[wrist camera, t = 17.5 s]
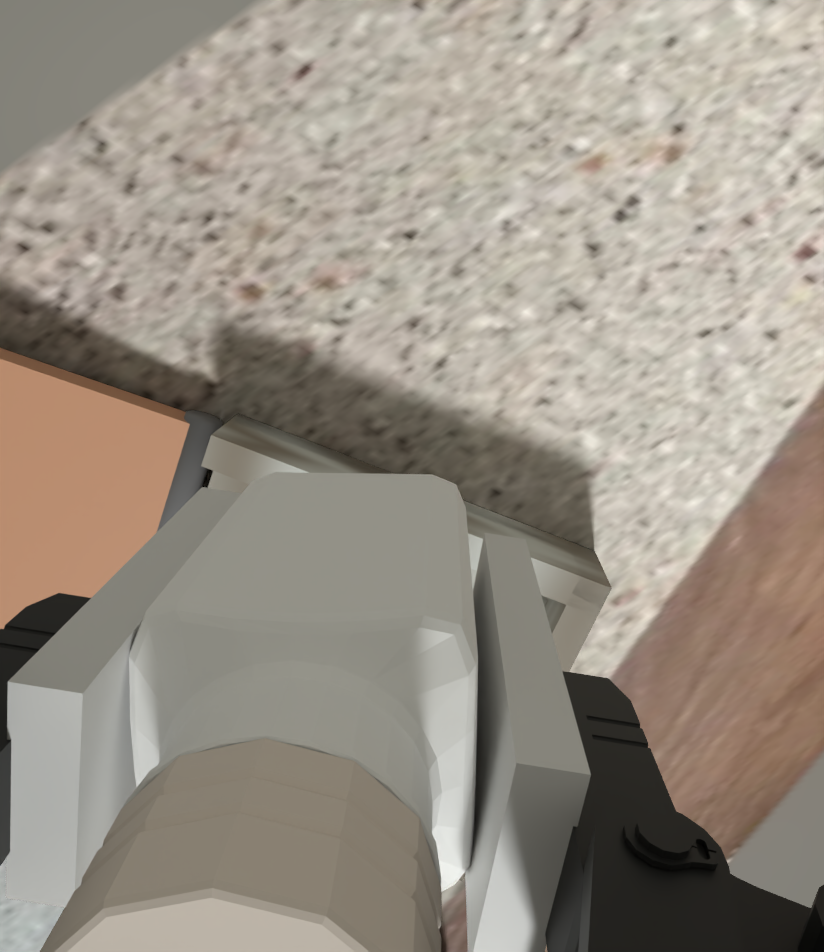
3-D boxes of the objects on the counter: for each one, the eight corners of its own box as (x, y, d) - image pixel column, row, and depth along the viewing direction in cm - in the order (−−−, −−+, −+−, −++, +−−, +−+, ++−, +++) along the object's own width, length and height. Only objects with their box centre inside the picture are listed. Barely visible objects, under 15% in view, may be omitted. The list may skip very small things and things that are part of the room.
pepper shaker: (465, 465, 14) (503, 852, 5) (461, 660, 15) (485, 1255, 6) (249, 462, 14) (-83, 832, 5) (260, 655, 16) (2, 1232, 6)
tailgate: (136, 695, 34) (-177, 607, 32) (225, 419, 30) (-123, 298, 28) (127, 715, 33) (-200, 624, 31) (218, 429, 29) (-147, 303, 27)
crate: (142, 705, 34) (109, 755, 31) (237, 413, 30) (211, 434, 27) (461, 820, 35) (462, 881, 32) (594, 551, 31) (611, 588, 28)
